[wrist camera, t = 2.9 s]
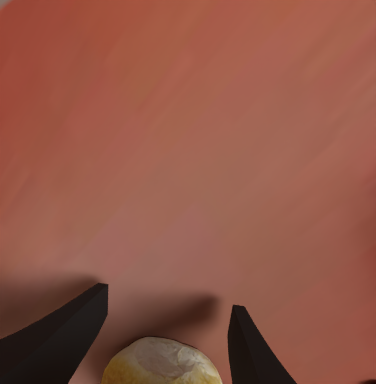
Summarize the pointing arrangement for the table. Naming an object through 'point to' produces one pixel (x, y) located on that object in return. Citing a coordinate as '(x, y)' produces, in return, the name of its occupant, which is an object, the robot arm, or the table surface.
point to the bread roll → (160, 364)
